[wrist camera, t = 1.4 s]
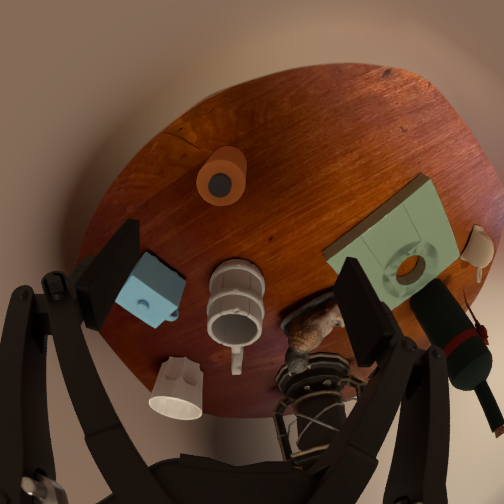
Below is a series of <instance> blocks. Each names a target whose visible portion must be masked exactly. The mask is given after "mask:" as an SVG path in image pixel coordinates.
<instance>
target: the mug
mask: <svg viewBox="0 0 504 504" xmlns="http://www.w3.org/2000/svg"><path fill="white" fill-rule="evenodd" d="M209 289H210V293H211V296H210V298H209V300H208V305H207V315H208V322H207V330H208V333H209V335H210V336H211V338H212V339H213V340H215V341H216V342H218V343H220V344H221V343H222V344H223V345H225V346H228V347H231V348H232V374H233V375H238V374H241V365H242V359H243V347H244V346H246V345H250V344H252V343H253V342H255V341H256V340H257V339H258V338H259V337H260V335H261V333H262V320H263V317H264V305H263V300H262V297H263V294H264V292H265V281H264V278H263V276H262V274H261V272H260V270H259V269H258V268H257V267H256V266H255V265H254V264H250V262H249V261H246V260H241V259H232V260H228V261H226V262H223V263H222V264H221V265H219V266H218V267H217V268H216V270H215V271H214V272H213V274H212V276H211V278H210V283H209Z"/></svg>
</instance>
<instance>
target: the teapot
mask: <svg viewBox="0 0 504 504" xmlns="http://www.w3.org/2000/svg"><path fill="white" fill-rule="evenodd" d="M185 284H186V281H185V280H184V279H182V278H181V277H180V276H179V275H178V273H177V272H175V271H172V270H170V269H169V268H167V267H166V266H165V265H163V264H162V263H161V262H159V261H158V258H157V257H155V256H152V255H150V254H149V253H148V252H145V253H144V255H143V256H142V257H141V259H140V260H139V261H138V263H137V264H136V265H135V267H134V269H133V270H132V272H131V274H130V276H129V277H128V279H127V281H126V282H125V284H124V286H123V288H122V290H121V291H120V293H119V295H118V297H117V299H116V300H115V302H117V303H118V304H119V305H121V306H122V307H124V308H125V309H126V310H128V311H129V312H131V313H132V314H134V315H135V316H137V317H138V318H140V319H141V320H143V321H144V322H146V323H147V324H149V325H150V326H152V327H154V328H156V327H157V326H159V325H160V324H161V323H162V322H163V321H164V320H165V319H166V320H168V321H174V320H175V319H177V318H178V315H179V312H178V307H179V304H180V300H181V297H182V294H183V290H184V287H185ZM172 312H173V316H171V315H170V314H171V313H172Z"/></svg>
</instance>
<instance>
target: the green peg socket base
mask: <svg viewBox="0 0 504 504" xmlns="http://www.w3.org/2000/svg"><path fill="white" fill-rule="evenodd" d="M322 252H323V254H324V257H325V259H326V261H327V262H328V264H329V265H330V266H331V267H332V268H333V269H334V270H335V272H336V273H337V274H338V275H339V273H340V271H341V269H342V266H343V264H344V262H345V259H346V257H347V256H348V257H353V258H357V259H358V261H359V263H360V265H361V266H362V268H363V270H364V272H365V274H366V275H367V277H368V279H369V281H370V283H371V284H372V286H373V288H374V290H375V292H376V294H377V296H378V297H379V299H380V301H383V302H385V303H386V304H387V305H388V307H389V308H390V309H391V310H393V309H394V308H395V307H397V306H398V305H400V304H401V303H402V302H404V301H405V300H407V299H408V298H409V297H411V296H412V295H413V294H415V293H417V292H418V291H419V290H421V289H422V288H423V287H425V286H426V285H427V284H428V283H429V282H430V281H431V280H433V279H434V278H435V277H436V276H437V275H439V274H440V273H441V272H442V271H444V270H445V269H446V268H447V267H448V266H449V265H451V264H452V263H453V262H454V261H455V260H456V259H458V258H459V257H460V253H459V250H458V247H457V244H456V241H455V238H454V235H453V232H452V229H451V226H450V224H449V221H448V218H447V216H446V213H445V211H444V208H443V206H442V203H441V201H440V198H439V196H438V194H437V191H436V189H435V187H434V185H433V183H432V180H431V179H430V178H429V177H427V176H425V175H423V174H422V173H421V174H420V175H418V176H417V177H416V178H415V179H414V180H412V181H411V182H410V183H409V184H408V185H406V186H405V187H404V188H403V189H401V190H400V191H399V192H398V193H397V194H395V195H394V197H392V198H390V199H389V200H388V201H387V202H386V203H384V204H383V205H382V206H381V207H379V208H378V209H377V210H376V211H374V212H373V213H372V214H370V215H369V216H368V217H367V218H365V219H364V220H363V221H362V222H360V223H359V224H358V225H356V226H355V227H354V228H352V229H351V230H350V231H349V232H347V233H346V234H345V235H343V236H342V237H341V238H339V239H338V240H337V241H335V242H334V243H333V244H332V245H330V246H329V247H328V248H326V249H325V250H324V251H322ZM413 255H419V260H418V262H417V265H416V266H415V268H414V269H413V270H412V271H411V272H410V273H408V274H406V275H404V276H396V272H397V269H398V267H399V266H400V265H401V263H402V262H403V261H404V260H406V259H407V258H408V257H410V256H413Z"/></svg>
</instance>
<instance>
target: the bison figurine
mask: <svg viewBox="0 0 504 504" xmlns="http://www.w3.org/2000/svg"><path fill="white" fill-rule="evenodd" d="M334 326H336V327H339V326H341V327H344V326H345V325H344V322H343V319H342V316H341V313H340V310H339V307H338V304H337V302H336V299H335V296H334V293H333V291H330V292H327V293H325V294H323V295H321V296H319V297H318V298H316V299H313V300H311V301H309V302H308V303H306V304H305V305H303V306H301V307H300V308H298V309H297V310H295V311H294V312H292V313H291V314H289V315H288V316H286V317H285V319H284V320H283V321H282V322H281V324H280V327H281V329H282V330H283V331H284V334H285V335H286V336H287V337H288V343H289V348H288V350H287V352H286V355H285V364H286V365H287V368H288V373H289V375H290V376H291V372H295V373H302V372H303V371H305V370H306V369H307V368H309V369H310V368H311V366H310V364H309V363H308V359H309V358H310V355H309V352H310V351H312V350H313V349H315V348H317V347H318V345H319V344H320V343H321V341H322V340H323V338H324V337H325V336H326V335H328V334H329V333H330V332H331V331H332V329H333V327H334Z"/></svg>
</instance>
